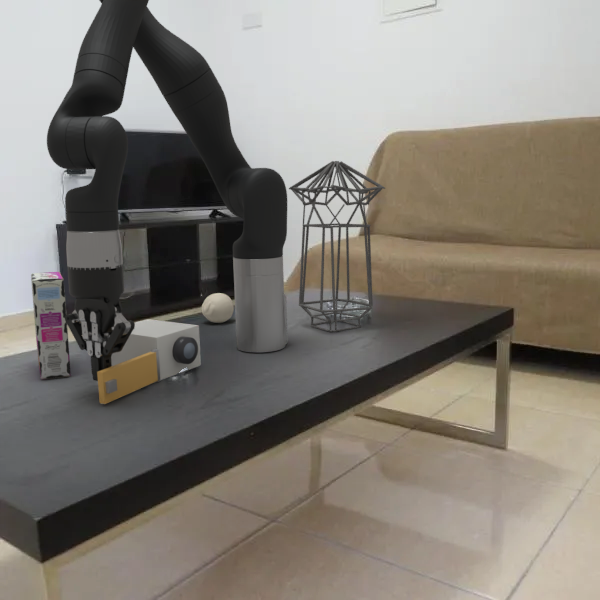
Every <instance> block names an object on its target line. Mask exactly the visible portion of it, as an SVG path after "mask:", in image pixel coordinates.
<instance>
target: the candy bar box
mask: <svg viewBox="0 0 600 600" xmlns="http://www.w3.org/2000/svg"><path fill="white" fill-rule="evenodd" d="M30 276H31V277H30V278H31V279H30V280H31V295H32V303H33V304H32V305H33V316H34V317H33V318H34V328H35V340H36V350H37V351H36V352H37V360H38V361H37V362H38V369H39V377H40V380H52V379H59V378H69V377H71V376H72V373H71V359H70V346H69V345H70V342H69V332H68V328H69V327H68V325H67V323H66V321H65V315H67V305H66V293H65V283H64V281H65V280H64V277H63V276H62V274H61V272H60V271H49V272H33V273H31V275H30Z"/></svg>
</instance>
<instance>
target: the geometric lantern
mask: <svg viewBox="0 0 600 600" xmlns="http://www.w3.org/2000/svg"><path fill="white" fill-rule="evenodd" d="M355 175H356V176H358V177H359V178H362V179H363V180H365V181H366V182H369V183H370V184H371V185H374V186H373V187H367V186H365V185H364V184H363V183H362V182H361V181H360V180H359V179H358V178H357V177H356V176H355ZM336 176H337V177H336ZM345 177H346V178H347V180H348V181H349V183H351V185H352V186H353V187H354V188H350V187H349V186H348V184H347V180H346V179H345ZM313 178H314V179H313ZM332 178H333V180H332ZM336 178H337V182H338V185H336V184H335V181H336ZM311 179H312V181H311V182H310V183H309V184H308V185H307V186H305V187H300V186H302V185H303V184H305V183H306V182H308V181H310V180H311ZM326 185H327V186H326ZM324 189H325V190H324ZM383 189H384V190H385V189H386V187H385V186H383V185H381V184H380V183H379V182H376V181H375V180H373V179H372V178H370V177H368V176H367V175H365V174H363V173H362V172H360V171H358V170H357V169H354V168H353V167H352V166H350V165H348V164H346V162H343V161H341V160H335V161H334V160H332V161H330V162H329V163H327V164H326V165H324V166H322V167H321V168H319V169H317V170H316V171H314V172H313V173H311V174H309V175H308V176H306V177H305V178H303V179H301V180H299V181H298V182H296V183H295V184H293V185H292V186H290V187H289V188H288V190H291V191H292V192H293V194H294V195H295V196H296V197H297V198H298V200H300V202H301V203H302V206H303V212H302V213H303V214H302V215H303V216H302V232H301V234H302V235H301V236H302V237H301V256H300V274H299V275H300V277H299V292H298V293H299V295H298V296H299V298H298V306H299V307H301V309H303V311H304V312H305V313H306V314H307V315H308V316H310V327H311V328H315V329H318V330H322V331H325V332H329V333H337V332H341V331H342V332H343V331H347V330H348V331H349V330H352V329H359V328H361V327H362V326H361V319H362V318H363V317H364V316H365V315H367V314H369V312H370V311H371V310H372V309H373V307H374V303H373V300H374V299H373V279H372V277H373V275H372V251H371V247H372V246H371V226H372V225H371V224H368V223H367V217H366V215H367V214H366V206H369V205H370V202H372V201H373V199H374V198H376V196H377V195H378V194H380V192H381V191H382V190H383ZM342 191H343V192H346V193H345V194H346V199H345V198H344V197H343V196H342V194H341V193H340V192H342ZM329 192H334V194H333V195H332V196H331V197H330V198H328V195H329ZM305 193H307V195H306V194H305ZM310 193H312V194H314V196H313V198H311V194H310ZM321 193H325V198H324V199H325V200H324V202H319V201H317V198H318V196H320V194H321ZM354 193H358V197H357V196H356V195H355V194H354ZM349 194H350V196H351V197H352V198H353V199H354V201H351V202H350V197H349ZM364 194H367V195H365V196H364ZM336 196H338V198H339V199H340V200H341V201H342V202H343V204H342V206H341V207H340V209H339V210H338V211H337V213H336V214H334V213H333V211H332V210H331V209H330V207H329V206H328V205H329V204H330V203H331V202H332V200H333V199H334V198H335V197H336ZM305 199H307V200H308V202H306V201H305ZM365 200H366V202H365ZM310 205H311V206H312V207H311V209H310V213H309V215H308V216H309V217H308V220H307V222H306V224H305V217H306V215H305V213H306V207H307V206H310ZM316 205H320V206H326V208H327V209H328V210H329V212H330V214H331V215H332V216H333V219H331V221H330V223H324V221H323V218H322V217H321V215H320V213H319V211H318V209H317V207H316ZM353 205H356V206H355V208H354V210H353V211H352V213H351V215H350V216H349V218H348V220H347V222H346V223H340V221H339V220H338V219H337V217H338V215H339V214H340V213H341V211H342V210H343V208H344V207H345V206H353ZM358 208H359V209H360V213H361V215H362V220H363V222H364V224H362V223H350V222H351V221H352V219H353V217H354V216H355V213H356V211H357V210H358ZM314 212H315V214H316V216H317V218H318V220H319V222H320V223H311V224H310V222H311V219H312V216H313V213H314ZM335 220H336V222H337V223H333V222H334V221H335ZM310 227H311V228H322V232H321V233H322V234H321V235H322V236H321V237H322V238H321V261H320V262H321V265H320V267H321V268H320V293H319V294H320V295H319V296H320V297H319V300H312V301H305V288H306V286H305V285H306V278H307V276H306V275H307V261H308V260H307V259H308V245H309V235H310V234H309V233H310V231H309V230H310ZM334 228H338V232H337V233H338V235H337V255H336V257H337V258H336V259H337V260H336V262H337V263H336V276H335V253H334V252H335V251H334V250H335V249H334V248H335V246H334ZM342 228H345V245H346V254H345V255H346V293H347V295H346V298H347V299H343V298H339V287H340V285H339V284H340V283H339V281H340V260H341V258H340V257H341V239H342V238H341V235H342ZM349 228H363V233H364V248H365V264H366V266H365V267H366V280H367V296H368V297H367V298H368V303H366V302H362V301H357V300H352V299H350V298H351V297H350V296H351V295H350V293H351V292H350V291H351V289H350V249H349V247H350V246H349ZM326 229H330V258H331V259H330V260H331V262H330V263H331V289H332V290H331V291H332V295H331V297H332V298H331V299H324V278H325V276H324V275H325V273H324V272H325V249H326V248H325V245H326V243H325V242H326V240H325V239H326V238H325V237H326ZM335 277H336V281H335ZM335 282H336V284H335ZM331 302H332V309H323V305H324V304H323V303H331ZM338 302H344V303H345V304H344V306H343V307H342V308H341V309H340V308H339V309H338ZM349 303H350V304H351V303H352V304H355V305H361V306H362V307H351V308H346V307H347V305H348V304H349ZM312 304H313V305H315V304H319V308H316V307H313V306H309V305H312ZM363 306H364V307H363ZM309 310H312V311H315V312H318V314H312V313H311V312H310V311H309ZM354 311H356V312H357V311H363V312H362V313H361V315H356V314H351V313H347V312H354ZM345 312H346V313H345ZM319 313H320V314H319ZM328 315H333V319H332V320H331V319H330V318H329V317H328ZM337 315H339V319H337ZM321 316H323V318H322V317H321ZM342 316H348V317H351V318H343V319H342ZM324 317H325V318H324ZM314 319H316V320H321V321H323V322H314ZM354 320H357V322H358V323H354V322H351V321H354ZM337 322H338V323H339V322H341V323H345V324H349V325H352V326H351V327H345V328H339V329H337V328H338V327H337V325H338V324H337ZM332 323H334V329H333V330H332ZM322 324H323V325H324V324H329V329H326V328H323V327H320V326H317V325H322Z"/></svg>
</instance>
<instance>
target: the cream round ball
mask: <svg viewBox="0 0 600 600" xmlns="http://www.w3.org/2000/svg"><path fill="white" fill-rule="evenodd" d="M234 310H235V305H234V301H233V300H232V299H231V297H230V296H229V295H228V294H226V293H220V292H217V293H216V292H215V293H212V294H210V295H208V296H207V297H206V298H205V299H204V300H203V303H202V305H201V313H202V315H203V316H204V317H205V318H206V320H208V321H209V322H211V323H215V324H222V323H225V322H227V321H229V320H230V319H231V318H232V316H233V313H234V312H235V311H234Z"/></svg>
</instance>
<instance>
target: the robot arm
mask: <svg viewBox="0 0 600 600" xmlns="http://www.w3.org/2000/svg"><path fill="white" fill-rule="evenodd" d="M98 1H99V2H100V3H101V4H100V7H99V9H98V10H97V12H96V14H95V16H94V18H93V20H92V22H91V24H90V25H89V28H88V30H87V31H86V34H85V36H84V37H83V39H82V42H81V45H80V47H79V51H78V54H77V60H76V63H75V68H74V74H73V78H72V84H71V86H70V87H69V89H68V91H67V92H66V94H65V96H64V98H63V99H62V102H61V103H60V105H59V106H58V108H57V110H56V111H55V113H54V115H53V117H52V118H51V121H50V122H49V125H48V126H49V127H48V129H47V133H46V148H47V151H48V155H49V157H50V159H51V160H52V161H53V163H55V164H56V165H57V167H60V168H61V169H63V170H64V169H65V170H94V174H93V177H92V179H91V182H90V183H88V184H86V185H83V186H78V187H74V188H71V189H69V190H68V191H66V194H65V197H64V204H65V205H64V206H65V222H66V247H65V248H66V263H67V265H66V267H67V278H68V279H67V280H68V293H69V295H70V296H71V297H72V298H75V302H74V310H73V311H72V312H71V313H69V314H67V313H66V315H65V321H66V323H67V328H69V331H70V332H71V334H72V336H73V337H74V340H75V341H76V344H77V345H78V348H79V349H80V350H82V351H86V352H87V354H88V356H90V366H91V368H90V369H91V370H90V371H91V374H92V379H93V381H95V382H98V377H97V372H98V371H101V370H103V369H106V368H109V367H111V366H112V362H111V356H112V354H113V353H116V352H120V351H121V350H122V349H123V347H124V345H125V343H126V342H127V340H128V338H129V336H130V334H131V333H132V331H133V329H134V327H135V322H134V320H131V319H130V320H127V319H126V317H125V316H124V314H123V307H122V305H121V301H120V298H121V296H122V295H123V294H124V292H125V282H124V281H125V279H124V277H125V275H124V261H123V260H124V259H123V245H122V241H121V239H122V238H121V234H120V219H119V197H120V196H119V195H120V190H121V183H122V178H123V175H124V170H125V166H126V161H127V158H128V152H129V140H128V135H127V133H126V130H125V128H124V126H123V125H122V123H121V122H120V121H119V120H118V119H116V118H114V117H113V116H109V115H111V114H114V113H115V112H117V111H118V110H120V108H121V107H122V103H123V100H124V95H125V90H126V84H127V79H128V73H129V68H130V62H131V57H132V54H133V49H134V51H135V52H136V54H137V56H138V58H139V59H140V60H141V61H142V63H143V64H144V67H145V68H146V69H147V71H148V72H149V74H150V76H151V78H152V79H153V80H154V82H155V84H156V86H157V87H158V90H159V91H160V93H161V95H162V96H163V99H164V100H165V102H166V103H167V105H168V107H169V108H170V110H171V111H172V113H173V114H174V115H175V117H176V119H177V121H178V123H179V125H181V127H182V128H183V130H184V132H185V133H186V135H187V137H188V138H189V140H190V142H191V143H192V145H193V147H194V149H196V151H197V153H198V154H199V156H200V158H201V160H202V161H203V163H204V164H205V167H206V168H207V170H208V173H209V175H210V177H211V179H212V181H213V183H214V185H215V188H216V190H217V192H218V194H219V196H220V198H221V199H222V202H223V204H224V205H225V207H226V209H227V210H228V211H229V212H230V213H231V214H232V215H234V216H235V217H237V218H240V219H243V225H242V226H243V229H242V234H241V235H240V237H239V238H238V239H236V240H234V242H233V244H232V260H233V261H232V262H233V263H232V264H233V283H234V287H233V288H234V290H233V291H234V310H235V311H234V312H235V313H234V314H235V335H236V336H235V337H236V349H238V351H241V352H247V353H269V352H276V351H280V350H282V349H284V348H286V345H287V344H288V341H289V340H288V317H287V316H288V312H287V311H288V310H287V307H288V306H287V305H288V304H287V295H286V294H285V281H284V245H285V243H286V240H287V236H288V235H287V234H288V233H287V232H288V191H287V187H286V184H285V180H284V179H283V177H282V176H281V175H280V173H279V172H278V171H276V170H275V169H273V168H269V167H256V168H255V167H251V165H250V164H249V163H248V161H247V160H246V159H245V157H244V155H243V154H242V152H241V151H240V149H239V147H238V145H237V142H236V141H235V139H234V135H233V132H232V126H231V120H230V111H229V107H228V101H227V97H226V95H225V93H224V90H223V88H222V86H221V84H220V82H219V80H218V79H217V76H216V75H215V73H214V71H213V69H212V68H211V66H210V64H209V63H208V61H207V60H206V59H205V57H204V56H203V55H202V54H201V53H200V52H199V51H198V50H197V49H196V48H194V47H193V46H191V45H190V44H189V43H188V42H186V41H184V40H183V39H182V38H181V37H179V36H177V35H176V34H175V33H173V32H172V31H170V30H169V29H167V28H166V27H165V26H164V25H162V23H161V22H159V20H158V19H157V18H156V17H155V16H154V14H153V13H152V12H151V10H150V8H149V7H148V4H149V1H150V0H98ZM105 341H106V342H105Z"/></svg>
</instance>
